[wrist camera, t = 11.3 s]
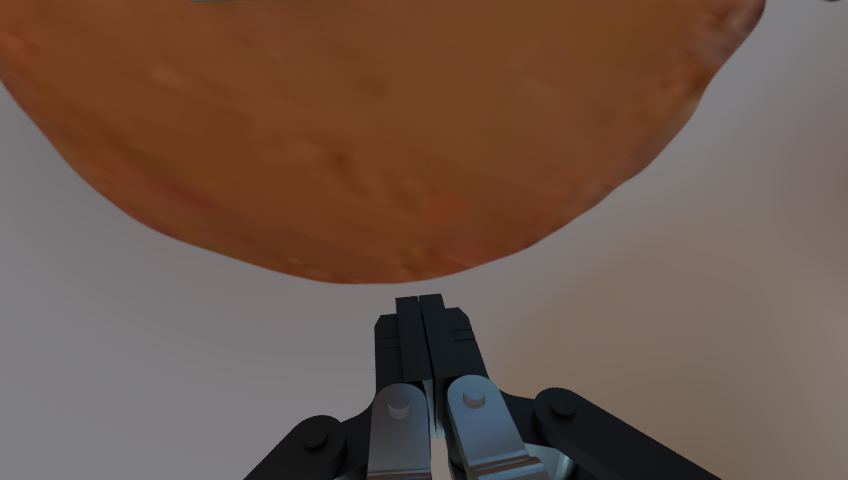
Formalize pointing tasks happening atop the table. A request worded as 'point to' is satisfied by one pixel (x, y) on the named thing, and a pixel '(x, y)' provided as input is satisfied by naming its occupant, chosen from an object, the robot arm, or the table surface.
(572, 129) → the table surface
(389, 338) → the robot arm
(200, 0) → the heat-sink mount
